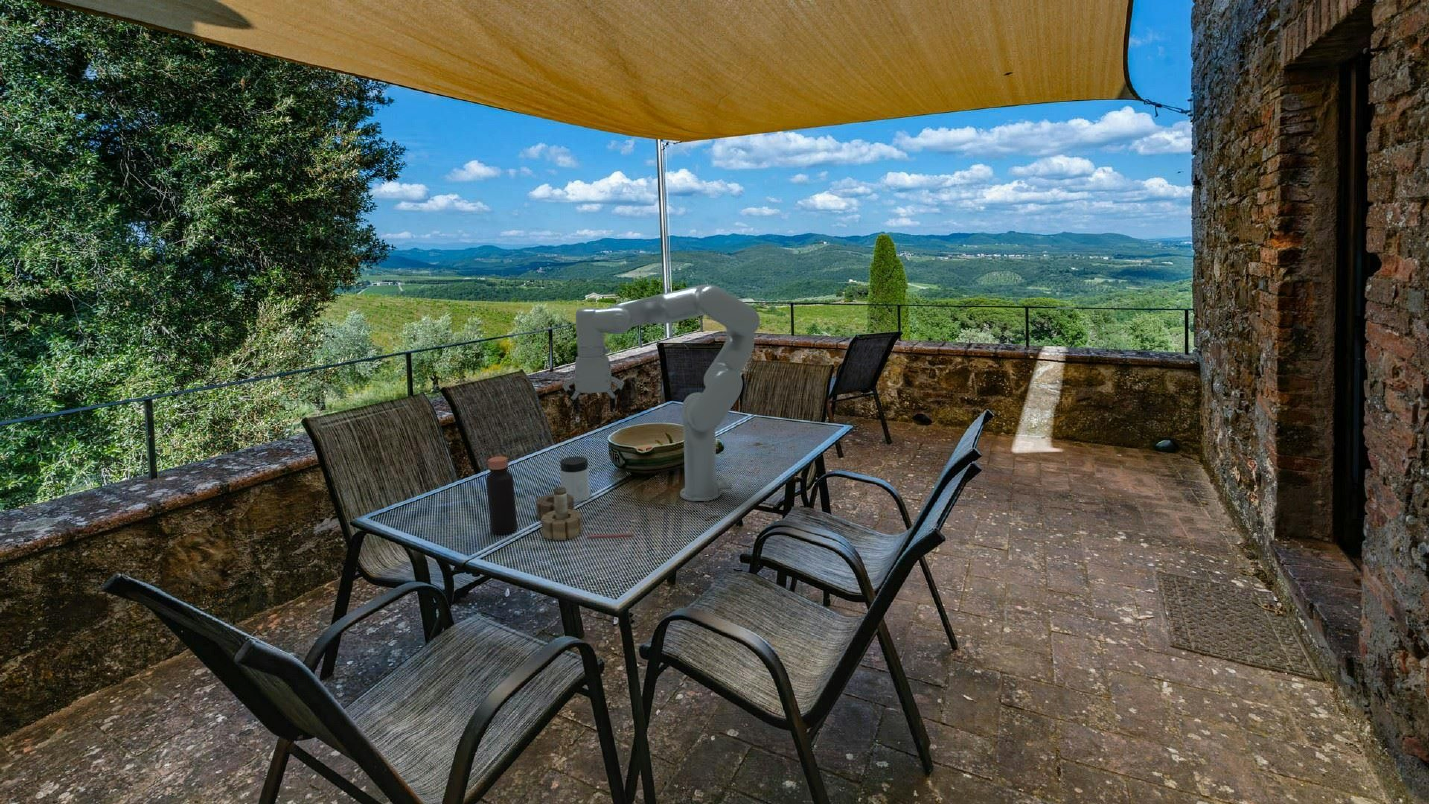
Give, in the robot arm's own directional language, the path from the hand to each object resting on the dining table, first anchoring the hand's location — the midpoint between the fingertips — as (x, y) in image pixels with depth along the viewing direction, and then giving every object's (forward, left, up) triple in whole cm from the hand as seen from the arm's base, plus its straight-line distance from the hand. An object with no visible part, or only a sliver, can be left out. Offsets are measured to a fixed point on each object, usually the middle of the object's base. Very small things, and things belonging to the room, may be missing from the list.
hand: (594, 411), depth 187 cm
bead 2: (+8, +19, -28) cm, 35 cm away
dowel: (+8, +19, -28) cm, 35 cm away
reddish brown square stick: (-5, +24, -28) cm, 37 cm away
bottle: (+24, +16, -28) cm, 41 cm away
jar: (+8, -7, -28) cm, 30 cm away
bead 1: (+12, +6, -28) cm, 31 cm away
